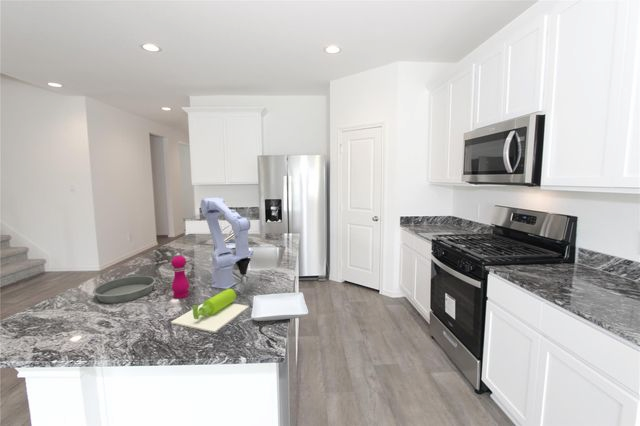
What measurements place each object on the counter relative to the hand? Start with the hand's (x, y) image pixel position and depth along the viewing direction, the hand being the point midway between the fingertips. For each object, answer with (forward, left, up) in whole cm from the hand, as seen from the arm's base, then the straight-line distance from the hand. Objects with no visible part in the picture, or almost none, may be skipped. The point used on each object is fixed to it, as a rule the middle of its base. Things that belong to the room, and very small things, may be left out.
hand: (243, 274), depth 137 cm
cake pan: (-53, -17, -10) cm, 57 cm away
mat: (0, -22, -9) cm, 24 cm away
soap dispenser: (0, -10, -5) cm, 11 cm away
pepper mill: (-26, -11, -10) cm, 30 cm away
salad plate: (+23, -9, -10) cm, 27 cm away
